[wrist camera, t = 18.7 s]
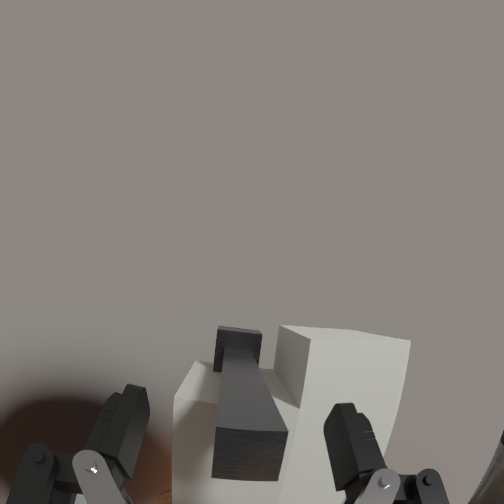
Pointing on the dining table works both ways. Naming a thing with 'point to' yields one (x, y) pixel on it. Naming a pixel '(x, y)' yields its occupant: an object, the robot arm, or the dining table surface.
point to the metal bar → (245, 412)
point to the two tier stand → (291, 414)
